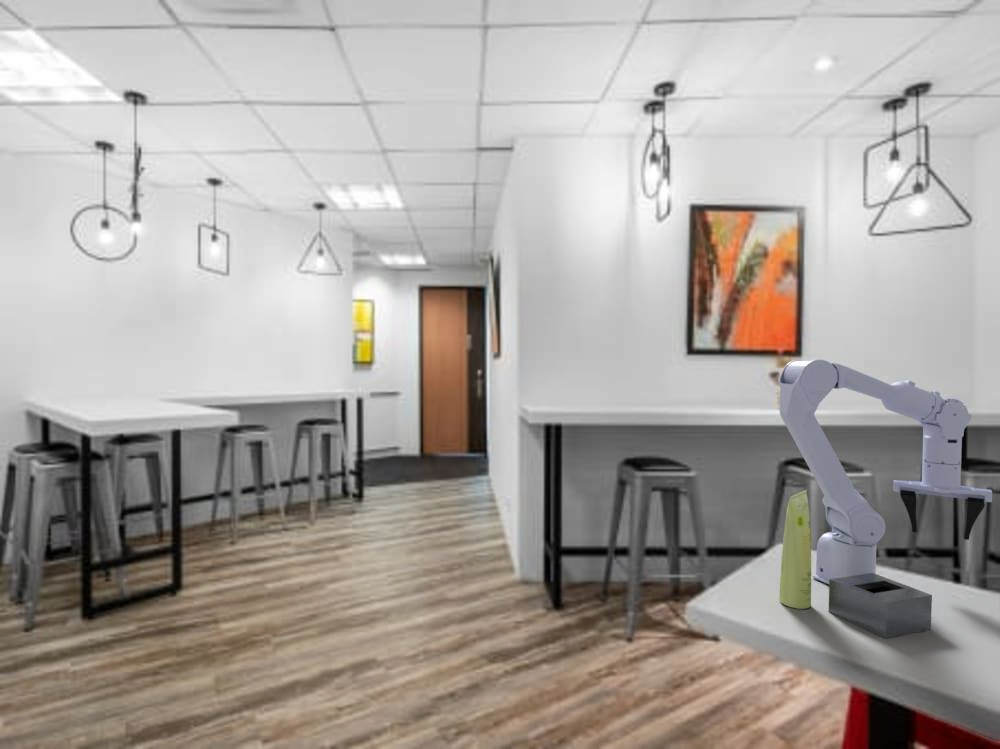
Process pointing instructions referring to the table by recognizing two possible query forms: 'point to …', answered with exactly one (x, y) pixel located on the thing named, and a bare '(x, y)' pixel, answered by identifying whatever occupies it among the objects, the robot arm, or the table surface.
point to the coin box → (880, 604)
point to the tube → (796, 554)
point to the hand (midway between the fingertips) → (939, 534)
